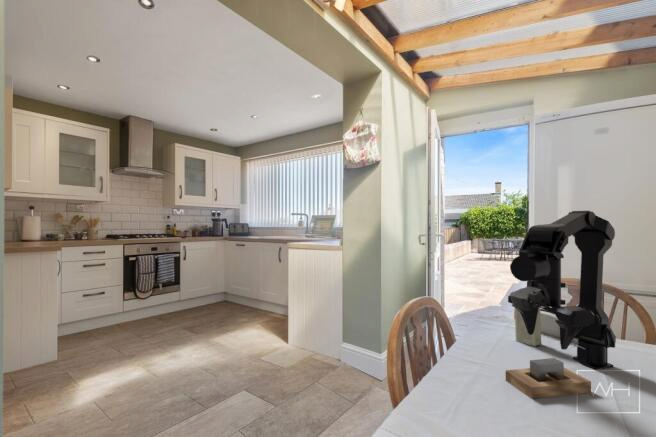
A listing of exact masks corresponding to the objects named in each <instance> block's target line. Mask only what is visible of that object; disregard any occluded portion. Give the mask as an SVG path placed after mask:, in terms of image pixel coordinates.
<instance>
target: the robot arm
mask: <svg viewBox="0 0 656 437" xmlns="http://www.w3.org/2000/svg"><path fill="white" fill-rule="evenodd" d="M571 236H572V237H573V238H574V244H575V246H576V247H577V249H578V250H579V251H580V253H581V258H580V260H581V261H580V276H579V277H580V279H579V300H578V305H567V306H566V299H562V288H566V282H562V260H561V259H564V257H565V256H564V254H563V252H564V249H565V248H566V246H567V245H568V244H569V237H571ZM615 236H616V231H615V228H614V227H613V225H612V224H611V222H610V221H608V220H607V219H605V218H603V217H600V216H598V215H596V213H595V212H593V211H591V210H572V211H569V212H568V214H566V215H564V216H562V217H561V218H559V219H557V220H555V221H553V222H552V223H547V224H545V223H544V224H537V225H532V226H530V228H529V229H528V231H527V232H526V234H525V236H524V239H523V241H522V244H521V246H520V248H519V251H518V256H516V257H514V258H513V259H512V261H511V263H510V264H509V269H510V272H511V275H512V276H513V277H514V278H515V279H517V280H518V281H521V282H526V286H525V287H522V288H519V289H518V290H515V291H510V292H509V294H508V295H507V302H508V303H510V304H511V306H512V308H514V309H515V308H516V309H517V310H518V311H519V312H520V314H521V316H522V318H523V321H524V323H525V326H526V329H527V332H528V334H530V335H533V333H534V330H535V325H536V320H537V314H538V309H539V308H542V309H545V310H548V311H551V312H554V313H556V317H557V318H558V320H555V322H556V323H557V324H558V325H559V327H560V338H559V342H560V344H559V345H560V348H561V350H567V349H568V347H569V346H570V345H571V343H573V342H572V340H573V339H574V338H576V339H578V343H577V346H576V356H572V360H575V361H577V362H579V363H581V364H583V365H585V366H588V367H590V368H592V369H594V370H599V369H609V368H614V364H612V363H609V362H608V354H609V353H608V352H609V351H608V349H609V348H616V343H617V340H616V338H617V336H616V335H615V333H614V331H613V329H612V327H611V325H610V318H609V316H608V314H607V313H606V312H605V310H604V308H602V302H603V301H602V296H603V276H604V275H603V274H604V255H605V254H607V252H608V251H609V249H611V248H612V245H613V240H614V239H615ZM564 305H565V306H564Z"/></svg>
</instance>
